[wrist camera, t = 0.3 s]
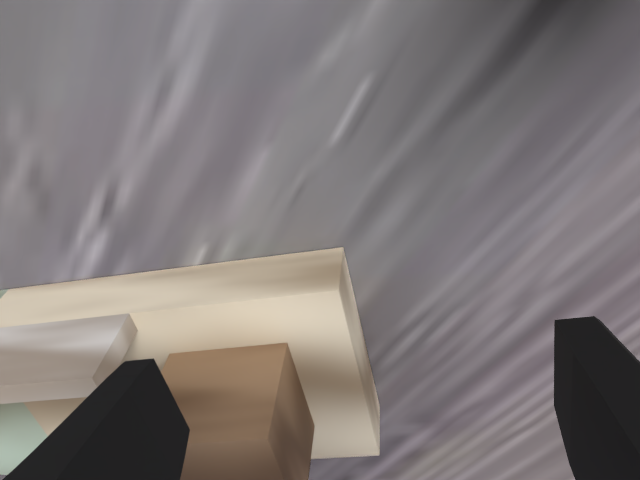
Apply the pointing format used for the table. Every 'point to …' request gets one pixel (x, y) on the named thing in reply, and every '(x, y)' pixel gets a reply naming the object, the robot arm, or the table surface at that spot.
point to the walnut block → (242, 413)
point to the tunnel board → (188, 341)
